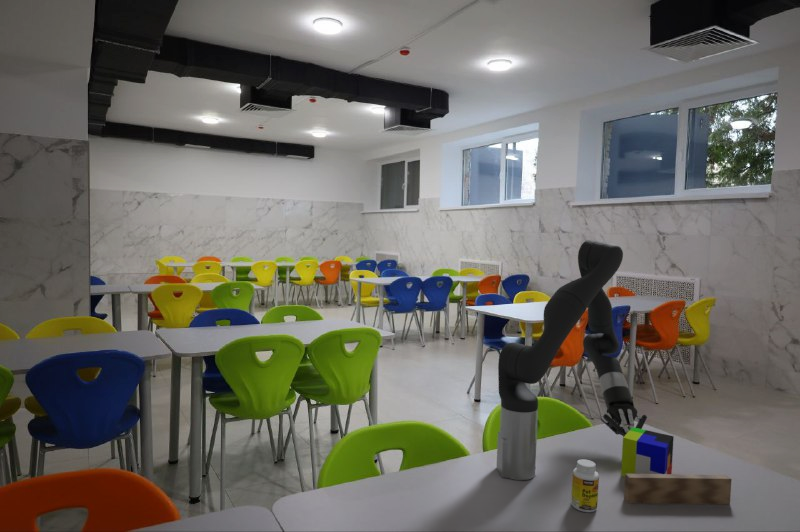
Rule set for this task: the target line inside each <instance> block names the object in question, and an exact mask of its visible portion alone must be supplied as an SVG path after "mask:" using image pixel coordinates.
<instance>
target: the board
mask: <svg viewBox="0 0 800 532" xmlns="http://www.w3.org/2000/svg"><path fill="white" fill-rule="evenodd" d="M731 492H732V478H731V477H730V476H729V475H727V474H691V473H690V474H687V473H685V474H683V473H682V474H680V473H678V474H675V473H673V474H625V476H624V492H623V493H624V494H623V500H625V502H626V503H628V504H670V505H671V504H673V505H674V504H681V505H682V504H684V505H685V504H687V505H688V504H689V505H691V504H692V505H697V504H698V505H730V504H731V496H732V495H731Z"/></svg>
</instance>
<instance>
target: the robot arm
mask: <svg viewBox="0 0 800 532" xmlns="http://www.w3.org/2000/svg"><path fill="white" fill-rule="evenodd" d="M623 256H624V252H623V249H622V248H621V247H620V246H619V245H617V244H614V243H611V242H604V241H599V240H595V239H594V240H592V239H587V240H585V241H583V242H582V244H581V245H580V247H579V250H578V253H577V263H578V269H579V270H578V271H579V274H580V277H579V278H576V279H575V280H572V281H570V282H568V283H566V284H564V285H562V286H560V287H558V289H557V290H556V291H555V292H554V293H553V295H552V296H551V297H550V299H549V300H548V301H547V302H546V304H545V306H544V309H543V331H542V334H541V335H540V336H539V338H538V339H537V341H536V342H535V343H534V344H533V345H532V346H530V345H527V344H522V343H517V342H508V343H506V344H505V345H504V346H503V347H502V349H501V351H500V353H499V357H498V363H497V364H498V368H497V369H498V370H497V371H498V373H497V375H498V379H497V380H498V395H499V397H500V398H499V399H500V425H499V427H500V428H499V431H497V445H496V446H497V448H496V468H497V471H498V473H499V474H500V477H501V478H507V479H511V480H515V481H528V480H531V479H533V478H534V477H536V468H537V467H536V462H537V461H536V460H537V459H536V458H537V441H538V440H537V439H538V438H537V437H538V436H537V435H538V415H539V414H538V413H539V399H538V397H537V395H536V394H534V393H533V392H532V391H531V390H530V389H529V388H528V387H527V385H526V384H528V385H532V384H533V385H534V384H537V383H539V382H540V381H541V380H542V379H543V377H544V376H545V375H546V373H547V371H548V370H549V368H550V366H551V364H552V363H553V361H554V359H555V358H556V355H557V353H558V352H559V350H560V348H561V346H562V345H563V344H564V342H565V340H566V339H567V337H568V336H569V334H570V333H571V332H572V330H573V328H574V327H575V326H576V325H577V323H578V322H579V320H580V319H581V318H582V317H583V315H584V314H585V312H586V310H587V321H588V322H587V323H588V328H589V330H590V331H591V332H594V333H591V334H587V335H585V337H584V338H583V340H582V346H583V349H584V352H585V354H586V355H587V357H588V358H589V359H590V360H591V362H592V364H593V366H594V368H595V370H596V373H597V377H598V380H599V386H600V391H601V393H602V397H603V400H604V403H605V406H606V407H605V408H606V413H605V414H603V416H602V417H601V422H602V423H604V425H606V426H607V427H608V428H609V429H610V430H611V431H612V432H613V433H615V435H620V436H622V437H624V436H625V435H626V434H627V433H628V432H629V431H630V430H631V428H632V427H634V428H639V429H642V428H644V425H645V422H646V420H647V419H648V416H647V415H646V414H643V415H642V414H641V413H639V412H638V409H636V408H635V404H634V401H633V397H632V394H631V392H630V388H629V386H628V381H627V379H626V378H625V376H624V372H623V369H622V367H621V363H620V361H619V360H618V359H617V358H616V357H614V356H612V355H615V354H617V353H618V351H619V349H620V341H619V340H618V336H617V334H616V332H615V328H614V325H613V307H612V306H613V305H612V303H611V301H610V299H609V297H608V294H607V293H606V291H604V286H605V285H606V284H607V283H609V281H610V280H611V278H613V277H614V276H615V274H616V273H617V272H618V271H619V268H620V267H621V265H622V262H623ZM610 355H611V356H610ZM635 419H636V422H637V424H636V425H635Z"/></svg>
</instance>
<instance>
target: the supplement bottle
mask: <svg viewBox="0 0 800 532" xmlns="http://www.w3.org/2000/svg"><path fill="white" fill-rule="evenodd" d="M596 470H597V467H596V463H595V462H594V461H592V460H589V459H583V458H582V459H578V460H577V461H576V467H575V468H574V469H573V470H572V483H571V484H572V485H571V498H570V500H571V501H570V502H571V506H572V507H573V508H574V509H576V510H577V511H580V512H583V513H593V512H595V511H596V510H597V508H598V498H599V479H600V474H599V472H598V471H596Z"/></svg>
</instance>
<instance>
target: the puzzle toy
mask: <svg viewBox="0 0 800 532" xmlns="http://www.w3.org/2000/svg"><path fill="white" fill-rule="evenodd" d="M622 437H623V436H622ZM621 453H622V454H621V470H620V472H621V473H620V476H622V477H625V474H672V473H673V472H672V471H673V470H672V468H673V455H674V454H673V453H674V435H669V434H666V433H661V432H656V431H652V430H647V429H639V428H635V426H634V427H632V428H631V430H630V431H629V432H628V433H627V434H626V435H625V436H624V437H623V438H622V449H621Z"/></svg>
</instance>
